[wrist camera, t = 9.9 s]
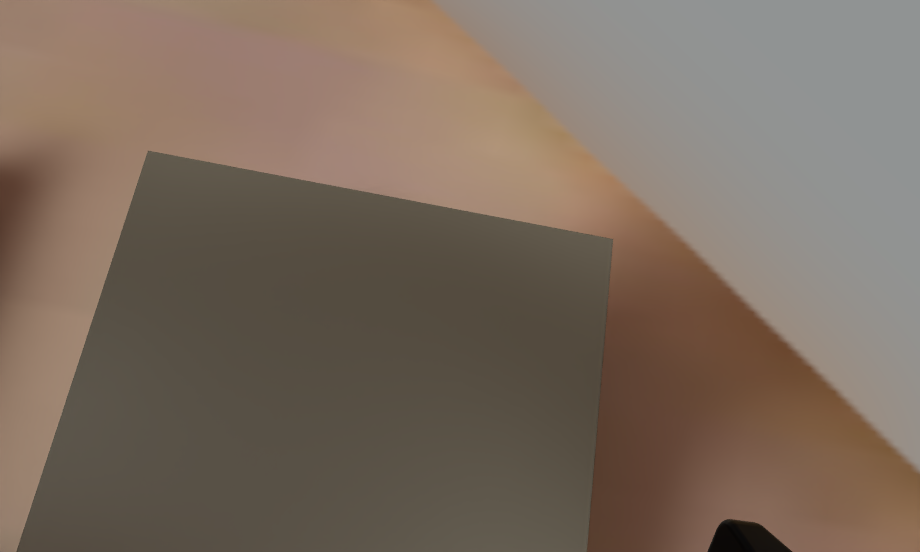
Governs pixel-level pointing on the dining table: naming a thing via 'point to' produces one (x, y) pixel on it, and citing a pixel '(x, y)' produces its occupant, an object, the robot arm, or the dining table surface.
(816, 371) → the dining table surface
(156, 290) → the grey-brown peg
